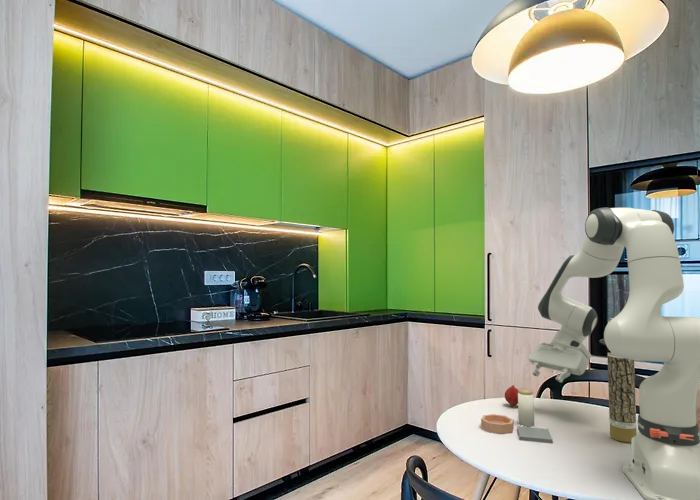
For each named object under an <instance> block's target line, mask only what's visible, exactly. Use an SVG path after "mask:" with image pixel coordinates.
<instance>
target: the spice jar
mask: <svg viewBox="0 0 700 500" xmlns="http://www.w3.org/2000/svg"><path fill="white" fill-rule="evenodd" d="M518 390H519V392H518V404H517V405H518V406H517V409H518V411H517V413H518V416H517V417H518V425H519V424H520V426H521V425H523V426H522V427H525V426H527V427H531V426H533V427H534V426H535V401H534V398H535V397H534V395H535V394H534V391H533V389H531V388H524V387H522V388H519V389H518Z"/></svg>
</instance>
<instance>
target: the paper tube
mask: <svg viewBox="0 0 700 500" xmlns="http://www.w3.org/2000/svg"><path fill="white" fill-rule="evenodd" d="M606 356H607V381H608V382H607V384H608V385H607V386H608V411H609V412H608V414H609V416H608V417H609V435H610V438H612V439H613V440H615V441H618V442H621V443H630V444H631V440H632V438H633V437H634V436H636V435H637V434H638V433H637V405H636V382H635V381H636V377H635V360H630V359H625V358H621V357H617V356H615V355H613V354H612V353H611V352H607V355H606Z"/></svg>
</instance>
